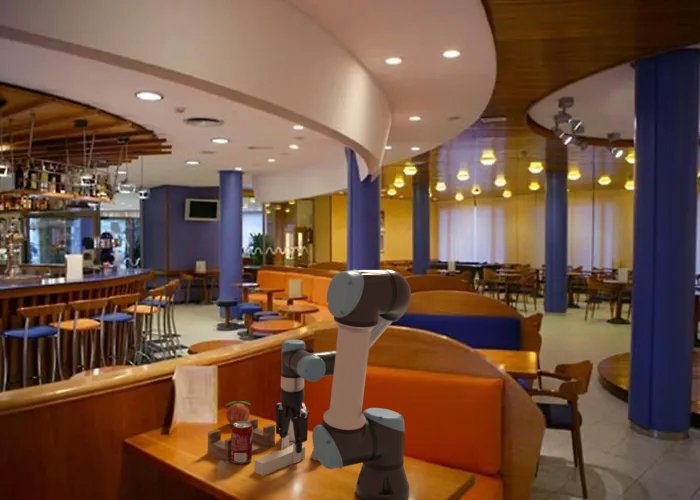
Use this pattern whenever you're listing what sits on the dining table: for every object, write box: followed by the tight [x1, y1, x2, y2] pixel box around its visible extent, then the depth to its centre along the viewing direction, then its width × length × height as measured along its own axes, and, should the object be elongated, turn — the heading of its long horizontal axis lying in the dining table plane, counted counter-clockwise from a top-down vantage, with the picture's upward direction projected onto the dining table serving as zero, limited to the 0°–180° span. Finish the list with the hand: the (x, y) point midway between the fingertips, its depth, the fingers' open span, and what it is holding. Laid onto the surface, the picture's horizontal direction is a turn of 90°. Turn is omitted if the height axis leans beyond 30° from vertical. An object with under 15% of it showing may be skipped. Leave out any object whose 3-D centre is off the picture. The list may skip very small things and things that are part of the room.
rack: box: [206, 417, 276, 464], centre depth 187 cm, size 20×11×7 cm, turn 140°
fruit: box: [224, 398, 252, 426], centre depth 211 cm, size 9×10×10 cm
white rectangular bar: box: [253, 444, 306, 476], centre depth 175 cm, size 18×4×4 cm, turn 140°
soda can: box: [230, 420, 253, 465], centre depth 177 cm, size 7×7×12 cm
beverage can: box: [287, 402, 307, 442], centre depth 199 cm, size 8×8×12 cm
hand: (290, 459), depth 179 cm, fingers open, 5 cm apart
